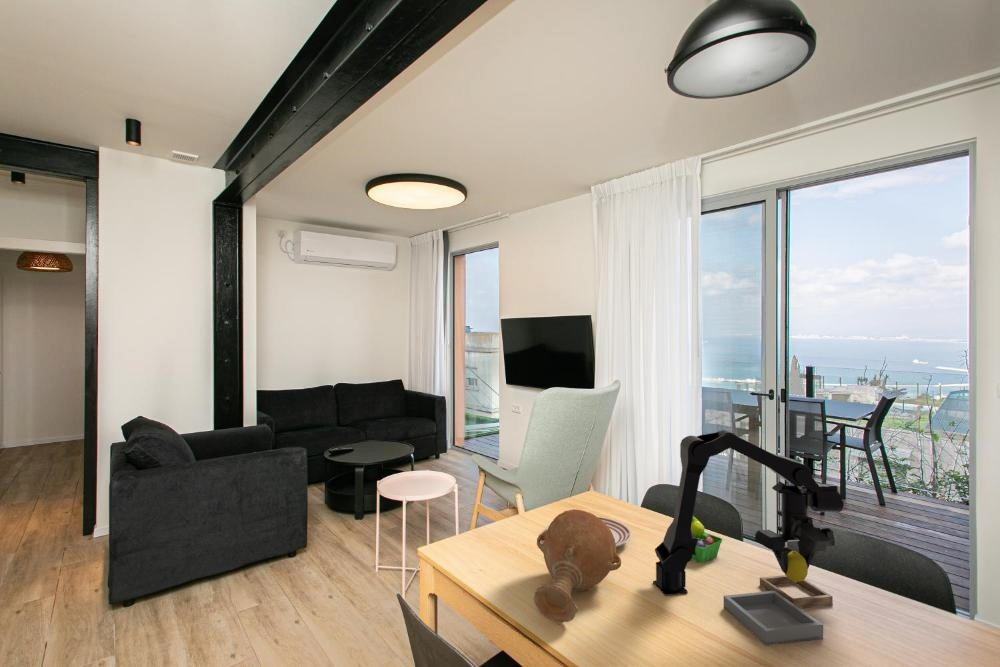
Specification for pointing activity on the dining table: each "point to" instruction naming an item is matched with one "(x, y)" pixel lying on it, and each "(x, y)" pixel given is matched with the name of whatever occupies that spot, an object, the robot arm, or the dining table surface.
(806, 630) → the tray
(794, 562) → the lemon
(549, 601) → the jug
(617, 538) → the dinner plate
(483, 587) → the dining table surface
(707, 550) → the fruit basket
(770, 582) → the lemon holder
